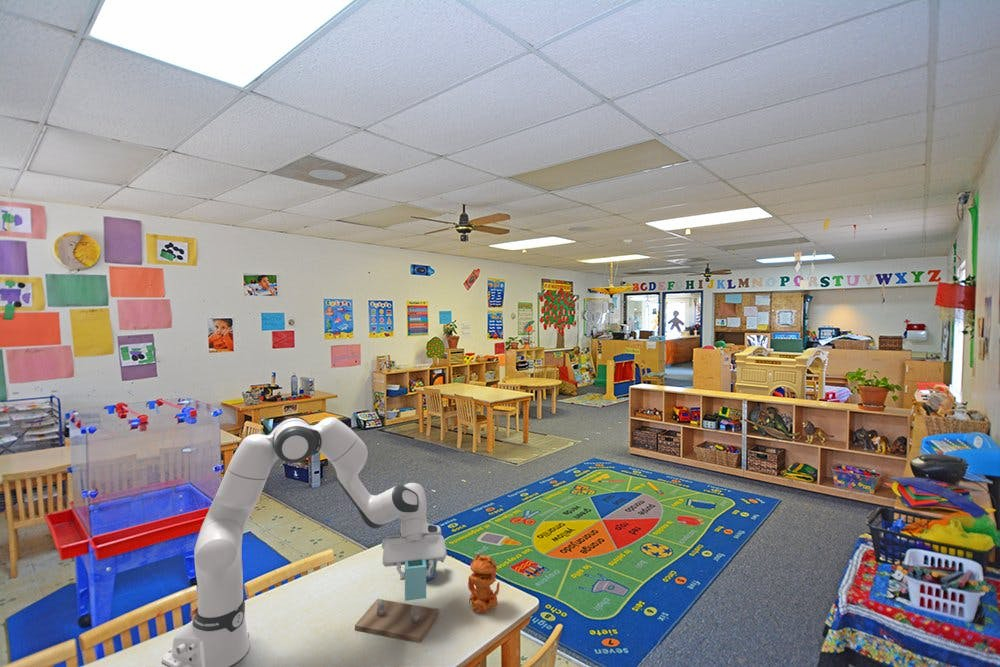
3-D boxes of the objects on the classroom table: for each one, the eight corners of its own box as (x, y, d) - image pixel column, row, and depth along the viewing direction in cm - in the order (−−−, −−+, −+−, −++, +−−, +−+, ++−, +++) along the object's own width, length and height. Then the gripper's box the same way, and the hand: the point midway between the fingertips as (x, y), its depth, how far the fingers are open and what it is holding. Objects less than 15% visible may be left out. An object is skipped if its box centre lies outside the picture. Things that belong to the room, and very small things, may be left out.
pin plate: (354, 629, 143) (354, 612, 143) (377, 603, 156) (377, 587, 156) (420, 642, 137) (420, 624, 137) (438, 613, 151) (438, 597, 151)
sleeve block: (405, 600, 141) (405, 568, 141) (404, 588, 148) (404, 558, 147) (426, 598, 143) (426, 566, 142) (425, 586, 149) (425, 556, 149)
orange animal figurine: (460, 613, 151) (460, 559, 151) (474, 594, 162) (474, 544, 161) (491, 621, 147) (492, 566, 147) (504, 602, 157) (504, 550, 157)
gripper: (381, 532, 149) (380, 578, 140) (445, 526, 153) (448, 571, 144) (382, 539, 153) (381, 584, 144) (443, 533, 158) (446, 577, 149)
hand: (415, 577), depth 144 cm, fingers closed on sleeve block, 6 cm apart
